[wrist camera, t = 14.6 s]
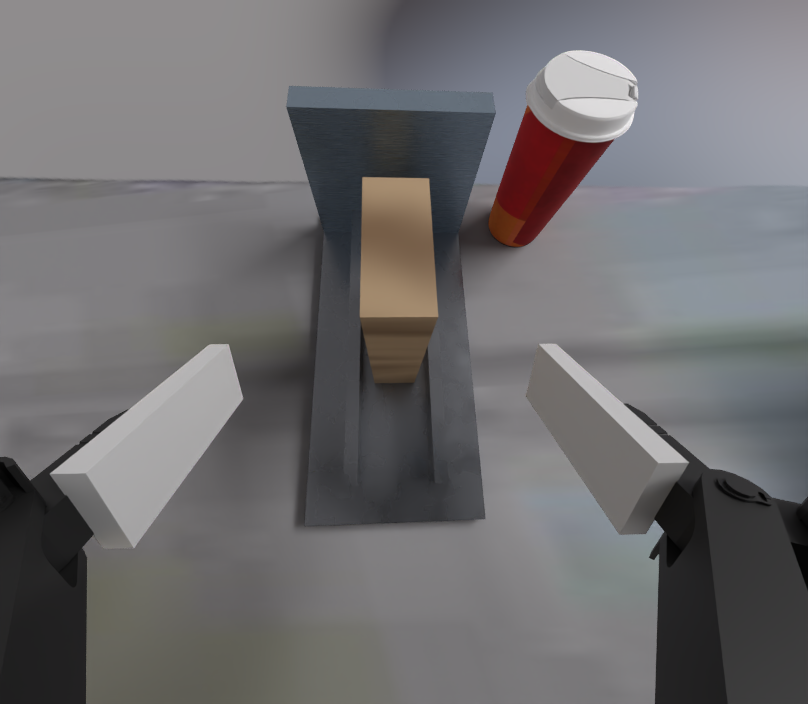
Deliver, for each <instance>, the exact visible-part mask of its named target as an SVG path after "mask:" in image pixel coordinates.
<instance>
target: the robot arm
mask: <svg viewBox="0 0 808 704" xmlns="http://www.w3.org/2000/svg"><path fill="white" fill-rule="evenodd" d="M526 397H527V399H528V400H529V402H530V403H531V405H532V406H533V408H534V409H535V411H536V412H537V414H538V415H539V417H540V418H541V419H542V421H543V422H544V424H545V425H546V427H547V428H548V430H549V431H550V433H551V434H552V436H553V437H554V439H555V440H556V442H557V443H558V445H559V446H560V448H561V449H562V450H563V452H564V453H565V455H566V456H567V458H568V459H569V461H570V462H571V464H572V465H573V467H574V468H575V470H576V471H577V473H578V474H579V476H580V477H581V479H582V480H583V481H584V483H585V484H586V486H587V487H588V489H589V490H590V492H591V493H592V495H593V496H594V498H595V499H596V501H597V502H598V504H599V505H600V507H601V508H602V510H603V511H604V513H605V514H606V515H607V517H608V518H609V520H610V521H611V523H612V524H613V526H614V527H615V529H616V530H617V532H618V533H619V535H624V534H646V533H647V531H648V530H649V528H650V526H651V525H652V523H653V521H654V520H656V521H657V523H658V524H659V525H660V526H661V528H662V529H663V530H664V533H663V535H662V536H661V538H660V539H659V541H658V542H657V544H656V545H655V547H654V548H653V550H652V552H651V554H650V556H649V558H651V559H653V560H654V559H655V558H656V556H657V555H658V554H659V585H658V620H657V654H656V688H655V704H808V497H807V498H806V499H805V500H804V502H803V503H802V504H798V503H794V502H789V501H785V500H780V499H776V498H772V497H771V496H769V495H768V494H767V493H766V492H765V491H764V490H763V489H761V488H760V487H758V486H757V485H755V484H753V483H752V482H750V481H749V480H747V479H744V478H742V477H740V476H738V475H736V474H733V473H730V472H726V471H723V470H715V469H709V468H708V467H707V466H706V465H704V464H703V463H702V462H701V461H700V460H699V459H697V458H696V457H695V456H694V455H693V454H692V453H690V452H689V451H688V450H687V449H686V448H685V447H683V446H682V445H681V444H680V443H679V442H677V441H676V440H675V439H674V438H673V437H672V436H670V435H668V434H667V432H666V431H665V430H663V429H662V428H661V427H660V426H657V424H656V423H655V422H654V421H653V420H652V419H650V418H649V417H648V416H647V415H646V414H645V413H643V412H641V411H640V410H638V409H636V408H634V407H632V406H631V405H629V404H623V403H622V402H621V401H619V400H618V399H617V398H616V397H615V396H614V395H613V394H612V393H610V392H609V391H608V390H607V389H606V388H605V387H604V386H603V385H601V384H600V383H599V382H598V381H597V380H596V379H595V378H594V377H592V376H591V375H590V374H589V373H588V372H587V371H586V370H585V369H583V368H582V367H581V366H580V365H579V364H578V363H577V362H576V361H574V360H573V359H572V358H571V357H570V356H569V355H568V354H567V353H565V352H564V351H563V350H562V349H561V348H560V347H559V346H558V345H557V344H538V348H537V352H536V356H535V361H534V365H533V369H532V373H531V377H530V381H529V386H528V390H527V394H526ZM242 400H243V395H242V392H241V388H240V384H239V381H238V377H237V373H236V370H235V366H234V362H233V359H232V355H231V351H230V347H229V344H209V345H208V346H207V347H206V348H204V349H203V350H202V351H201V352H200V353H198V354H197V355H196V356H195V357H193V358H192V359H191V360H190V361H188V362H187V363H186V364H185V365H183V366H182V367H181V368H180V369H179V370H177V371H176V372H175V373H174V374H172V375H171V376H170V377H169V378H167V379H166V380H165V381H164V382H163V383H161V384H160V385H159V386H158V387H156V388H155V389H154V390H153V391H151V392H150V393H149V394H148V395H146V396H145V397H144V398H143V399H142V400H140V401H139V402H138V403H137V404H135V405H134V406H133V407H132V408H130V409H128V410H126V411H124V412H122V413H120V414H118V415H116V416H114V417H112V418H110V419H109V420H107V421H106V422H105V423H103V424H102V425H101V426H99V427H98V428H97V429H96V430H94V431H93V433H92V434H89V435H88V436H87V437H85V438H84V439H83V440H82V441H80V444H79V445H75V446H74V447H73V448H71V449H70V450H69V451H68V452H66V453H65V454H64V455H63V456H61V457H60V458H59V459H57V460H56V461H55V462H54V463H52V464H51V465H50V466H49V467H47V468H46V469H45V470H43V471H42V472H41V473H40V474H38V475H37V476H36V477H35V478H33V479H32V480H31V481H30V480H29V479H28V478H27V477H26V475H25V474H24V473H23V471H22V470H21V469H20V468H19V466H18V465H17V464H16V462H15V461H14V460H13V459H11V458H7V457H0V704H86V609H87V557H86V554H85V552H84V550H83V549H82V547H83V546H84V545H85V544H86V542H87V541H88V540H89V539H90V538H91V537H92V536H93V535H94V536H95V538H96V539H97V541H98V542H99V543H100V545H101V546H102V548H103V549H121V548H134V547H135V546H136V545H137V543H138V542H139V540H140V539H141V538H142V536H143V535H144V534H145V532H146V531H147V530H148V528H149V527H150V525H151V524H152V523H153V521H154V520H155V519H156V517H157V516H158V515H159V513H160V512H161V510H162V509H163V508H164V506H165V505H166V504H167V502H168V501H169V500H170V498H171V497H172V495H173V494H174V493H175V491H176V490H177V489H178V487H179V486H180V485H181V483H182V482H183V480H184V479H185V478H186V476H187V475H188V474H189V472H190V471H191V470H192V468H193V467H194V465H195V464H196V463H197V461H198V460H199V459H200V457H201V456H202V455H203V453H204V452H205V450H206V449H207V448H208V446H209V445H210V444H211V442H212V441H213V440H214V438H215V437H216V435H217V434H218V433H219V431H220V430H221V429H222V427H223V426H224V425H225V423H226V422H227V420H228V419H229V418H230V416H231V415H232V414H233V412H234V411H235V410H236V408H237V407H238V405H239V404H240V403H241V401H242Z"/></svg>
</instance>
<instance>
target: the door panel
mask: <svg viewBox="0 0 808 704" xmlns="http://www.w3.org/2000/svg"><path fill="white" fill-rule="evenodd" d="M437 319H438V306H437V291H436V276H435V261H434V246H433V231H432V216H431V201H430V186H429V178H383V177H362V228H361V279H360V321H361V325H362V329H363V334H364V338H365V343H366V347H367V352H368V356H369V360H370V365H371V369H372V374H373V378H374V383H414V382H415V379H416V377H417V374H418V371H419V368H420V366H421V363H422V360H423V357H424V355H425V352H426V349H427V346H428V344H429V341H430V338H431V335H432V333H433V330H434V327H435V324H436V322H437Z"/></svg>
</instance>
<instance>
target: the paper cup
mask: <svg viewBox="0 0 808 704" xmlns="http://www.w3.org/2000/svg"><path fill="white" fill-rule="evenodd" d="M636 85H637V80H636V78H635V76H634V75H633V74H632V73H631V71H629V70H628V69H627V68H626V67H625V66H624V65H622V64H621V63H619V62H618V61H616V60H614V59H612V58H610V57H608V56H605V55H602V54H599V53H596V52H590V51H580V50H578V51H568V52H564V53H562V54H560V55H558V56H556V57H555V58H553V59H552V60H551V61H550V62H549V63H548V64H547V66H546V67H544V68H543V69H542V70H541V71H539V73H538V74H537V76H536V78H535V79H534V80H533V81H532V82H531V83H530V84H529V85H528V86H527V90H526V102H527V108H526V111H525V114H524V117H523V120H522V122H521V125H520V128H519V131H518V134H517V137H516V140H515V143H514V146H513V148H512V151H511V154H510V157H509V160H508V163H507V166H506V169H505V172H504V175H503V178H502V181H501V183H500V186H499V189H498V192H497V195H496V198H495V201H494V204H493V207H492V210H491V213H490V217H489V223H488V224H489V229H490V232H491V234H492V235H493V236H494V238H495V239H497V240H498V241H499V242H501V243H503V244H505V245H508V246H512V247H520V246H525V245H527V244H529V243H530V242H532V241H533V240H534V239H535V237H536V236H537V235H538V234H539V233H540V232H541V230H542V229H543V228H544V227H545V226H546V224H547V223H548V222H549V221H550V219H551V218H552V217H553V216H554V214H555V213H556V212H557V211H558V209H559V208H560V207H561V206H562V204H563V203H564V202H565V201H566V200H567V198H568V197H569V196H570V195H571V194H572V192H573V191H574V190H575V189H576V187H577V186H578V185H579V184H580V182H581V181H582V180H583V178H584V177H585V176H586V175H587V173H588V172H589V171H590V169H591V168H592V167H593V166H594V164H595V163H596V162H597V160H598V159H599V158H600V157H601V155H602V154H603V153H604V152H605V150H606V149H607V148H608V147H609V145H610V144H611V143H612V142H613V140H614V139H615V138H618V137H619V136H621V135H622V134H624V133H625V132H626V131H627V130H628V129H629V127H630V125H631V124H632V121H633V117H634V111H635V109H636V107H637V102H636V100H638V87H637V86H636Z"/></svg>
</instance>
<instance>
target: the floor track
mask: <svg viewBox="0 0 808 704" xmlns="http://www.w3.org/2000/svg"><path fill="white" fill-rule="evenodd" d="M286 107H287V110H288V114H289V117H290V120H291V124H292V127H293V130H294V133H295V137H296V140H297V144H298V147H299V150H300V154H301V157H302V160H303V163H304V167H305V170H306V174H307V177H308V180H309V184H310V187H311V190H312V194H313V197H314V200H315V203H316V207H317V210H318V213H319V217H320V220H321V223H322V227H323V230H324V238H323V253H322V268H321V283H320V298H319V313H318V328H317V343H316V358H315V373H314V388H313V403H312V418H311V433H310V449H309V464H308V479H307V494H306V509H305V524H304V526H319V525H345V524H371V523H397V522H423V521H449V520H475V519H485V509H484V498H483V488H482V478H481V467H480V457H479V446H478V436H477V425H476V415H475V404H474V394H473V383H472V373H471V362H470V352H469V341H468V331H467V320H466V310H465V300H464V289H463V279H462V268H461V258H460V247H459V237H458V232H459V228H460V225H461V222H462V219H463V216H464V212H465V209H466V206H467V203H468V200H469V197H470V193H471V190H472V187H473V184H474V181H475V178H476V174H477V171H478V168H479V165H480V162H481V158H482V155H483V152H484V149H485V145H486V143H487V139H488V136H489V133H490V130H491V127H492V124H493V120H494V117H495V114H496V111H495V105H494V99H493V93H486V92H456V91H426V90H425V91H424V90H394V89H364V88H335V87H302V86H289V91H288V100H287V106H286ZM362 177H383V178H429V186H430V201H431V216H432V231H433V246H434V261H435V276H436V291H437V306H438V319H437V322H436V324H435V327H434V330H433V333H432V335H431V338H430V341H429V344H428V346H427V349H426V352H425V355H424V357H423V360H422V363H421V366H420V368H419V371H418V374H417V377H416V379H415V382H414V383H374V378H373V374H372V369H371V365H370V360H369V356H368V352H367V347H366V343H365V338H364V334H363V329H362V325H361V321H360V279H361V228H362Z"/></svg>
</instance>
